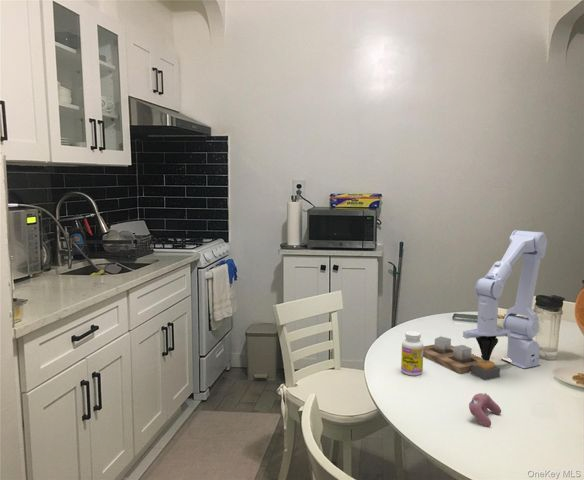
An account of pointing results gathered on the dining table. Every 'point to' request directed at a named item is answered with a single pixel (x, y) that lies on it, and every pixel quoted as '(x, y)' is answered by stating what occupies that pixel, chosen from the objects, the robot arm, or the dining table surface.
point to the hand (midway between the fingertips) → (485, 359)
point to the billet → (462, 354)
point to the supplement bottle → (412, 354)
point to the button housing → (485, 372)
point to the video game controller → (483, 408)
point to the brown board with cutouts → (448, 359)
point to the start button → (485, 364)
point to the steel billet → (442, 345)
